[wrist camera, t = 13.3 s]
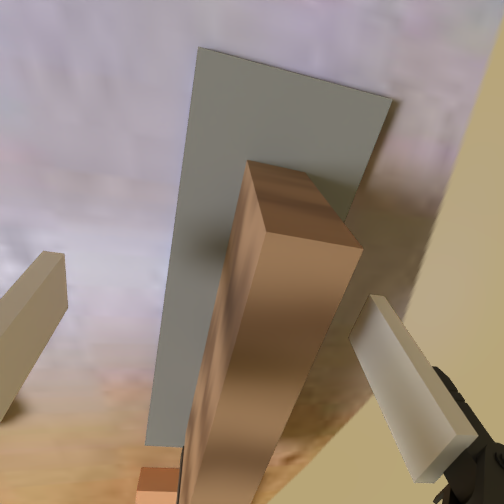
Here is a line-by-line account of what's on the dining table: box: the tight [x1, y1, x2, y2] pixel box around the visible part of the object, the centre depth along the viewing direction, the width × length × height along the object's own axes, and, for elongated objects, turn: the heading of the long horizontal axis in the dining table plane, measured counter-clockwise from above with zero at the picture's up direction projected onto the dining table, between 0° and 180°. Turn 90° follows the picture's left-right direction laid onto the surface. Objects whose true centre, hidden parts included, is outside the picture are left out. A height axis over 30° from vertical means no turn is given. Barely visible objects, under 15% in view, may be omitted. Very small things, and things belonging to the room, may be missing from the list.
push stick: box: [176, 160, 364, 504], centre depth 18 cm, size 23×3×8 cm, turn 167°
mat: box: [145, 47, 393, 447], centre depth 21 cm, size 28×9×1 cm, turn 167°
